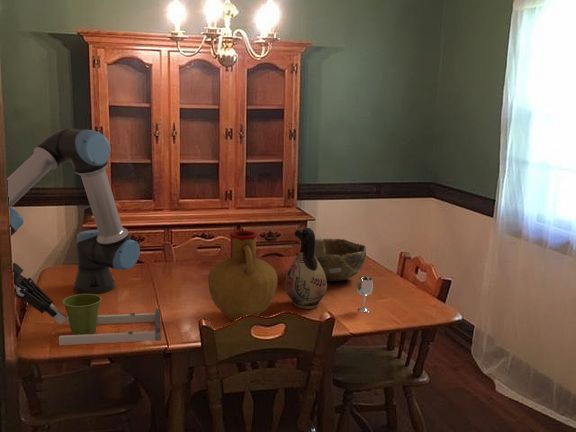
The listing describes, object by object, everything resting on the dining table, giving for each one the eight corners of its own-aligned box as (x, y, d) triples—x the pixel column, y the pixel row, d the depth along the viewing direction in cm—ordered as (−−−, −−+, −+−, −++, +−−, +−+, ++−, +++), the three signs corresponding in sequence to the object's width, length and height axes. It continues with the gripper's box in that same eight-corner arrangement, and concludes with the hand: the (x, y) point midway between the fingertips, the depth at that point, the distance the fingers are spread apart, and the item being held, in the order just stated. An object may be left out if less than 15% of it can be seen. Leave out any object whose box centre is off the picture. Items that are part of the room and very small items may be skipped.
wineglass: (367, 314, 223) (369, 282, 221) (353, 311, 226) (354, 279, 224) (374, 309, 228) (376, 278, 226) (360, 306, 231) (361, 275, 229)
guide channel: (59, 345, 190) (58, 333, 189) (67, 323, 207) (67, 312, 206) (160, 340, 195) (160, 328, 195) (160, 319, 213) (160, 308, 212)
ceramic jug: (278, 300, 235) (280, 222, 229) (315, 296, 241) (318, 220, 235) (295, 315, 220) (297, 232, 214) (335, 311, 226) (338, 230, 220)
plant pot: (65, 327, 204) (64, 294, 202) (103, 325, 206) (102, 292, 204) (61, 341, 192) (60, 306, 190) (101, 339, 195) (100, 304, 193)
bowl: (349, 294, 245) (350, 257, 242) (289, 282, 258) (290, 247, 255) (375, 277, 268) (377, 243, 265) (319, 267, 281) (320, 235, 278)
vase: (284, 327, 209) (287, 239, 203) (214, 333, 202) (214, 243, 196) (266, 304, 231) (268, 224, 225) (202, 308, 224) (202, 227, 219)
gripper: (1, 273, 196) (58, 321, 203) (-11, 285, 184) (51, 337, 190) (18, 256, 196) (75, 305, 203) (8, 268, 184) (69, 320, 190)
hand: (64, 320), depth 196 cm, fingers closed
